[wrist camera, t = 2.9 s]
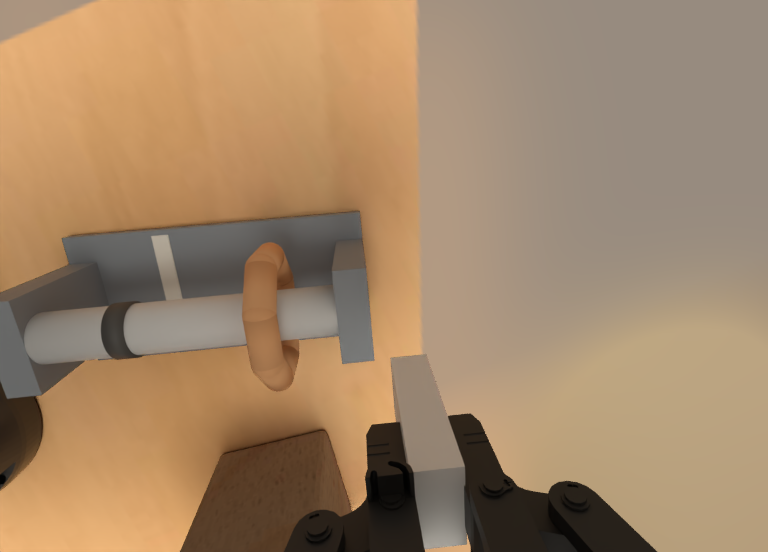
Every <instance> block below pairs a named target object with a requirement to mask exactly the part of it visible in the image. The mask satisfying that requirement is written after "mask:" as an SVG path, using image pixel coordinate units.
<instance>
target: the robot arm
mask: <svg viewBox="0 0 768 552" xmlns="http://www.w3.org/2000/svg"><path fill="white" fill-rule="evenodd" d="M391 369H392V382H393V395H394V408H395V417H396V422H394V423H384V424H375V425H371V427H370V429H369V431H368V433H367V435H366V438H367V464H368V470H367V472H366V476H365V481H366V490H367V497H366V500H365V501H364V502H363V504H362V505H361V506H360V507H358V508H357V509H356V510H354V511H352V512H351V513H349V514H346V515H344V516H341V517H340V516H339V515H337V514H336V513H335V512H333V511H329V510H316V511H313V512H311V513H308V514H306V515H305V516H304V517H303V518H301V519H300V520H299V521H298V523H297V524H296V526H295V527H294V529H293V532H292V534H291V536H290V539H289V541H288V543H287V546H286V548H285V550H284V552H425V549H431V548H440V547H448V546H456V545H466V544H467V535H468V539H469V542H470V545H471V552H657V551H656V550H655V549H654V548H653V547H652V546H650V544H649V543H647V542H646V541H645V540H644V539H643V538H642V537H641V536H640V535H639V534H638V533H637V532H636V531H635V530H634V529H633V528H632V527H631V526H630V525H629V524H628V523H627V522H626V521H625V520H624V519H623V518H621V517H620V516H619V515H618V514H617V513H616V512H615V511H614V510H613V509H612V508H611V507H610V506H609V505H608V504H607V503H606V502H605V501H604V500H603V499H602V498H601V497H599V495H598V494H596V493H595V492H594V491H593V490H591V489H590V488H589V487H587V486H585V485H582V484H580V483H577V482H571V481H564V482H558V483H556V484H554V485H553V486H552V487H551V488H550V490H549V493H548V494H547V493H540V492H533V491H529V490H525V489H523V488H520V487H518V486H517V485H516V484H515V483H514V481H513V480H512V479H511V478H510V477H508V476H507V475H505V474H504V473H503V470H502V468H501V466H500V464H499V462H498V460H497V457H496V455H495V453H494V451H493V449H492V447H491V444H490V443H489V440H488V438H487V436H486V434H485V431H484V429H483V427H482V425H481V423H480V421H479V420H477V419H476V418H475V417H474V416H473V415H471V414H461V415H452V416H447V413H446V410H445V407H444V404H443V401H442V399H441V396H440V393H439V390H438V387H437V384H436V381H435V379H434V375H433V373H432V370H431V367H430V364H429V361H428V358H427V355H426V354H424V355H414V356H404V357H394V358H391ZM41 434H42V423H41V416H40V412H39V409H38V406H37V403H36V401H35V399H34V397H33V396H28V397H19V398H9V399H7V397H6V395H5V392H4V389H3V387H2V384H1V382H0V491H1V490H2V489H3V488H5V487H6V486H7V485H8V484H9V483H10V482H11V481H12V480H13V479H14V478H15V477H16V476H17V475H18V474H19V473H20V472H21V471H23V470H24V469H25V468H26V466H27V465H28V464H29V463H30V462H31V460H32V459H33V457H34V456H35V454H36V452H37V450H38V447H39V444H40V440H41Z"/></svg>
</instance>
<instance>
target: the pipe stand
mask: <svg viewBox="0 0 768 552" xmlns="http://www.w3.org/2000/svg"><path fill="white" fill-rule="evenodd" d="M62 242H63V245H64V248H65V252H66V255H67V258H68V262H69V265H67V266H65V267H62V268H60V269H57V270H55V271H52V272H50V273H48V274H45V275H43V276H40V277H38V278H35V279H33V280H30V281H28V282H25V283H23V284H21V285H18V286H16V287H13V288H11V289H8V290H6V291H3V292H1V293H0V382H1V384H2V387H3V389H4V392H5V395H6V397H7V399H9V398H19V397H28V396H38V395H43V394H44V393H45V392H46V391H48V390H49V389H50V388H51V387H53V386H54V385H55V384H56V383H58V382H59V381H60V380H61V379H63V378H64V377H65V376H67V375H68V374H69V373H70V372H72V371H73V370H74V369H75V368H77V367H78V366H79V365H80V364H82V363H83V362H84V361H85V360H94V359H98V360H106V359H117V360H118V359H129V358H139V357H142V356H146V355H156V354H166V353H176V352H186V351H196V350H205V349H215V348H225V347H235V346H245V345H247V341H246V336H245V331H244V325H243V320H242V306H243V288H244V270H245V264H246V261H247V260H248V258H249V257H250V256H251V255H252V254H253V253H254V252H255V251H256V250H257V249H258V248H259V247H260V246H261V245H262V244H264V243H268V242H272V243H275V244H278V245H279V246H280V247H281V248H282V249H283V251H284V254H285V256H286V259H287V261H288V264H289V266H290V269H291V271H292V274H293V279H294V286H295V288H293V289H283V290H277V319H278V325H279V332H280V338H281V341H283V340H293V339H299V340H305V339H315V338H325V337H335V336H339V339H340V348H341V357H342V364H346V363H356V362H365V361H374V350H373V339H372V328H371V317H370V306H369V295H368V284H367V273H366V264H365V256H364V249H363V241H362V231H361V220H360V211H353V212H342V213H330V214H318V215H307V216H295V217H283V218H272V219H260V220H248V221H237V222H225V223H213V224H202V225H190V226H178V227H167V228H155V229H143V230H132V231H120V232H108V233H97V234H85V235H73V236H68V237H65V238H62Z"/></svg>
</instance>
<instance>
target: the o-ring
mask: <svg viewBox="0 0 768 552" xmlns="http://www.w3.org/2000/svg"><path fill="white" fill-rule="evenodd" d="M293 288H295V286H294V279H293V274H292V271H291V269H290V266H289V264H288V261H287V259H286V256H285V254H284V251H283V249H282V248H281V247H280V246H279V245H278V244H275V243H272V242H268V243H264V244H262V245H261V246H260V247H259V248H258V249H257V250H256V251H255V252H254V253H253V254H252V255H251V256H250V257H249V258H248V260H247V261H246V264H245V270H244V288H243V306H242V320H243V325H244V331H245V336H246V341H247V347H248V352H249V358H250V363H251V368H252V371H253V372H254V374H255V375H256V376H257V377H258V378H259V379H260V380H261V381H262V382H263V383H264V384H265V385H266V386H267V387H268V388H269V389H271V390H273V391H277V392H278V391H283V390H286V389H287V388H288V387H289V386H290V385H291V384H292V382H293V379H294V375H295V371H296V367H297V363H298V359H299V339H293V340H283V341H281V338H280V332H279V325H278V319H277V290H283V289H293Z"/></svg>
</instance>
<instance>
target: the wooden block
mask: <svg viewBox="0 0 768 552" xmlns="http://www.w3.org/2000/svg"><path fill="white" fill-rule="evenodd" d="M316 510H329V511H333V512H335V513H336V514H337V515H339V516H340V517H341V516H344V515H346V514H349V513H351V512H352V510H351V507H350V504H349V501H348V498H347V494H346V491H345V488H344V485H343V482H342V479H341V475H340V472H339V469H338V466H337V463H336V460H335V457H334V453H333V450H332V447H331V444H330V441H329V438H328V435H327V433H326V432H325V431H318V432H313V433H309V434H305V435H301V436H297V437H293V438H289V439H285V440H280V441H276V442H272V443H268V444H264V445H260V446H256V447H252V448H247V449H243V450H239V451H235V452H231V453H227V454H224V455H222V456H221V457H220V459H219V461H218V464H217V466H216V468H215V471H214V473H213V475H212V478H211V480H210V482H209V485H208V487H207V490H206V492H205V494H204V497H203V499H202V501H201V504H200V506H199V508H198V511H197V513H196V515H195V518H194V520H193V523H192V525H191V527H190V530H189V532H188V534H187V537H186V539H185V541H184V544H183V546H182V548H181V551H180V552H284V550H285V548H286V546H287V543H288V541H289V539H290V536H291V534H292V532H293V529H294V527H295V526H296V524H297V523H298V521H299V520H300V519H301V518H303V517H304V516H305V515H306V514H308V513H311V512H313V511H316Z"/></svg>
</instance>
